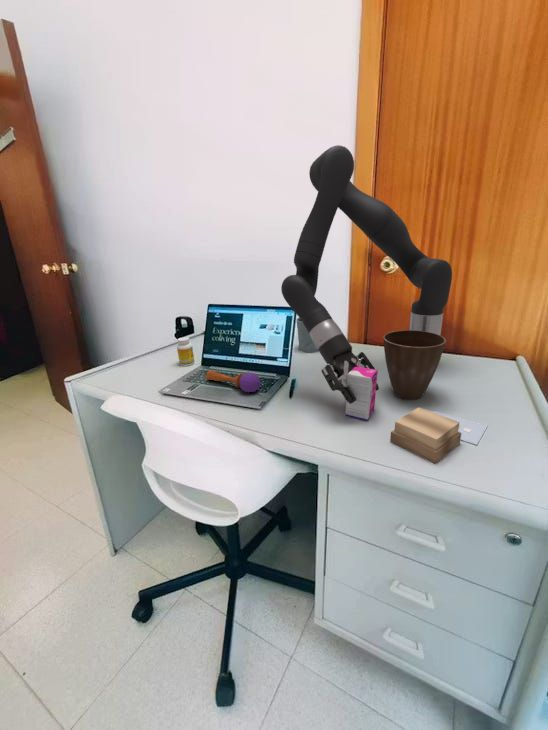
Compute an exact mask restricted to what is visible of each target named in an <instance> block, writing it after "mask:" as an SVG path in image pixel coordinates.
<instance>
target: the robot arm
mask: <svg viewBox="0 0 548 730" xmlns="http://www.w3.org/2000/svg"><path fill="white" fill-rule="evenodd" d="M354 170H355V161H354V156H353V154H352V153H351V150H349V149H348V147H346V146H345V145H344V146H343V145H339V144H337V145H333V146H331V147H328V149H326V150H325V151H323V152H322V153H321V154H320V155H319V156H318V157H317V158H315V160H314V161H313V162H312V164H311V165H310V167H309V180H310V182H311V185H312V187H313V188H314V189H315V190H316V192H317V194H316V197H315V201H314V203H313V206H312V208H311V210H310V213H309V215H308V217H307V219H306V221H305V224H304V225H303V227H302V230H301V233H300V234H299V235H300V236H299V238H298V242H297V245H296V249H295V253H294V257H293V263H294V266H295V269H296V271H295V274H292V275H288V276H287V277H285V278H284V280H283V281H282V283H281V287H280V288H281V294H282V297H283V299H284V300H285V302H286V303H287V305H288V306H289V307H290V308H291V310H292V311H293V312H294V313H295V314H296V315H297V317H298V318H300V319H301V320H302V322H303V324H304V326H305V328H306V329H307V331H308V332H309V334H310V336H311V338H312V340H313V342H314V344H315V346H316V347H317V349H318V351H317V352H319V354H320V355H321V357H322V359H323V361H324V362H325V363H326V364H327V365H325V366H324V367H323V368H322V369H321V371H320V372H321V374H322V376H323V377H324V379H325V381H326V382H327V383H326V384H327V385H328V386H329V388H330V390H331V391H333V392H335V391H338V392H340V393H341V394H342V396H343V398H344V400H345V402H346V401H347V402H349V403H350V404H351V403H353V402H355V401H356V397H355V396H354V394H353V392H352V391H351V389H350V388H349V386H348V387H347V376H348V373H349V372H350V371H351V370H352V369H353V368H354V367H355V366H357V367H363V368H368V369H375V370H376V368H375V366H374V365H373V364H372V362H371V361H370V359H369V358H368V357H367V354H365V353H364V351H360V352H359V353H358V354H357V355H355V354H354V353H353V347H352V345H351V343H350V342H349V340H348V339H347V337H346V335H345V334H344V332H343V331H342V329H341V328H340V326H339V325H338V323H336V322H335V320H334V319H333V317H332V316H331V314H330V313H329V311H328V310H327V308H326V306H324V305H323V304H322V303H321V302H320V301H318V299H317V298H316V296H315V295H316V292H317V289H318V281H319V280H318V279H319V269H320V268H319V267H320V264H321V260H322V257H323V254H324V251H325V247H326V244H327V239H328V236H329V233H330V230H331V228H332V224H333V221H334V219H335V216H336V213H337V211H338V209H339V210H340V211H341V212H343V214H345V215H346V216H347V218H348V219H349V220H350V221H352V223H354V224H355V226H356V227H358V228H359V229H360V231H361V232H362V233H363V234H364V235H365V236H366V237H367V238H368V239H369V240H370V241H371V242H372V243H373V244H374V245H375V246H376V247H378V249H380V251H382V252H383V253H384V254H385V255H386V256H387V257H388V258H390V259H391V261H392V262H394V263H395V264H396V265H397V266H398V268H399V269H400V270H401V271H402V272H403V274H404V275H405V276H406V278H407V279H408V281H410V283H411V284H412V285H413V286H414V287H415V288H418V289H420V295H419V299H418V300H416V301H414V302H413V303H411V308H410V309H411V310H410V318H409V319H410V322H409V330H417V331H426V332H431V333H435V334H438V335H440V336H442V335H441V334H442V326H443V318H444V311H445V310H444V309H445V307H446V306H447V303H448V301H449V297H450V291H451V290H450V289H451V286H452V280H453V279H452V278H453V269H452V266H451V264H450V263H449V262H448V261H447V260H444V259H441V258H432V257H429V256H427V255H426V254H424V253H423V252H422V250H420V248H418V247H417V246H416V245H415V243H414V242H413V241H412V238H411V235H410V233H409V230H408V228H407V227H408V226H407V225H406V223H405V222H404V221H403V219H402V218H401V217H400V216H399V215H398V214H397V213H396V212H395V210H393V208H391V206H389V205H388V204H387V203H386V202H383V201H382V200H379V199H377V198H376V197H373V196H372V195H369V194H367V193H366V192H363V191H361V190H360V189H359V188H357V186H355V184H353V182H352V181H351V178H352V176H353V174H354ZM379 390H380V388H379V384H378V383H377V384H376V392H377V391H379Z"/></svg>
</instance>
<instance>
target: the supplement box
mask: <svg viewBox="0 0 548 730" xmlns="http://www.w3.org/2000/svg"><path fill="white" fill-rule="evenodd" d="M377 381H378V369H376V368H375V369H369V367H367V368H363V367H357V366H355V367H354V368H353V369H352V370H351V371H350V372H349V373H348V376H347V387H348V386H349V388H350V389H351V391H352V392H353V394H354V396H355V397H356V401H355V402H353V403H351V404H350V403H349V402H347V401H346V400H345V417H348V418H353V419H356V420H361V421H365V422H368V421H369V419H370V417H371V416H372V414H373V413H374V412H375V406H376V393H377V391H376V384H378V383H377Z"/></svg>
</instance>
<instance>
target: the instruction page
mask: <svg viewBox="0 0 548 730" xmlns="http://www.w3.org/2000/svg"><path fill="white" fill-rule="evenodd" d="M430 412H433V413H436V414H438V415H441V416H444V417H446V418H449V419H452V420H454V421H457V422H460V423H459V429H458V432H460V433H461V439H460V442H464V443H468V444H471V445H474V446H478V444H479V443H480V440H481V439H482V437H483V435H484V433H485V432H486V429H487V428H488V425H484V424H482V423H478V422H474V421H472V420H467V419H463V418H460V417H457V416H453V415H449V414H445V413H443V412H439V411H436V410H435V411H434V410H431V411H430Z"/></svg>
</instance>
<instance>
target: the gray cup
mask: <svg viewBox="0 0 548 730" xmlns="http://www.w3.org/2000/svg"><path fill="white" fill-rule="evenodd" d="M295 320H296V328H297V339H298V349H299V351H300V352H303V353H311V354H312V353H317V352H319V351H318V349H317V347H316V346H315V344H314V342H313V340H312V338H311V336H310V334H309V332H308V331H307V329H306V328H305V326H304V324H303V322H302V320H301V319H300V318H299V317H297V318H296V319H295Z"/></svg>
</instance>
